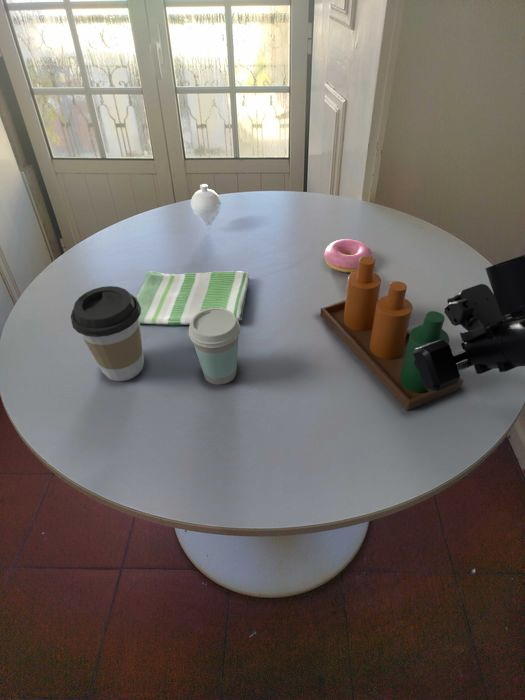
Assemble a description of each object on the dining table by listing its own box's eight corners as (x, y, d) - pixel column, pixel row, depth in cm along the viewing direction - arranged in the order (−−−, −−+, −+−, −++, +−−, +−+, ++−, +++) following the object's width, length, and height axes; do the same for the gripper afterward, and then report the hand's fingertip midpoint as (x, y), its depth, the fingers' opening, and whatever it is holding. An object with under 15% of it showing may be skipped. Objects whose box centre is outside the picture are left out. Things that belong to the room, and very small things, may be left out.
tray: (460, 388, 80) (463, 380, 78) (406, 411, 76) (409, 402, 75) (366, 300, 99) (367, 292, 98) (320, 315, 96) (320, 307, 94)
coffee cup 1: (114, 341, 92) (93, 277, 82) (166, 354, 89) (150, 288, 78) (79, 382, 84) (51, 316, 74) (134, 396, 81) (112, 330, 71)
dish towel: (149, 277, 108) (147, 267, 106) (250, 278, 106) (249, 268, 105) (127, 326, 95) (124, 315, 93) (241, 329, 93) (240, 318, 91)
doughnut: (315, 256, 112) (316, 241, 110) (356, 246, 115) (358, 231, 112) (337, 280, 105) (338, 264, 102) (379, 269, 108) (382, 253, 105)
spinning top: (194, 223, 127) (188, 180, 119) (222, 221, 127) (218, 177, 119) (194, 237, 121) (188, 192, 113) (223, 235, 122) (219, 190, 114)
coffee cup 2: (227, 350, 89) (221, 299, 81) (253, 376, 83) (249, 324, 75) (187, 370, 85) (177, 318, 77) (212, 398, 80) (203, 345, 72)
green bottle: (442, 388, 79) (463, 324, 70) (410, 396, 78) (427, 332, 69) (424, 365, 83) (442, 301, 74) (393, 372, 82) (407, 308, 73)
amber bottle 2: (408, 346, 87) (423, 284, 78) (392, 364, 84) (406, 301, 74) (379, 333, 90) (390, 271, 81) (363, 350, 87) (372, 287, 77)
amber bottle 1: (379, 319, 93) (390, 258, 84) (364, 335, 90) (373, 273, 81) (354, 308, 96) (361, 248, 87) (337, 322, 93) (343, 262, 84)
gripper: (552, 263, 61) (469, 290, 76) (438, 302, 56) (372, 323, 71) (580, 344, 61) (491, 355, 76) (468, 391, 56) (396, 393, 70)
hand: (439, 354), depth 73 cm, fingers open, 9 cm apart
